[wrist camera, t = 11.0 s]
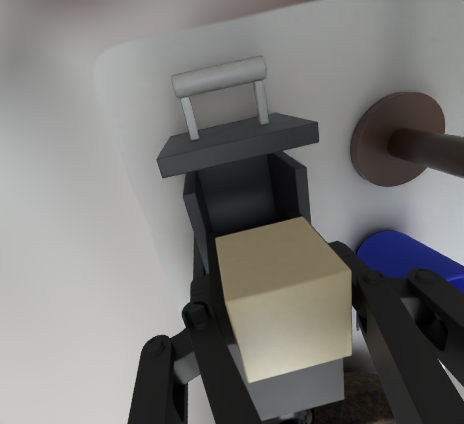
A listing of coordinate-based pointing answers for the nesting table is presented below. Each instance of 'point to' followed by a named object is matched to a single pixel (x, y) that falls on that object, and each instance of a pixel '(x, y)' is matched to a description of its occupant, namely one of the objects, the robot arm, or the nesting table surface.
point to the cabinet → (287, 379)
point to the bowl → (358, 403)
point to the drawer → (237, 158)
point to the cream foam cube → (285, 298)
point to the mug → (407, 257)
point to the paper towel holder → (404, 141)
